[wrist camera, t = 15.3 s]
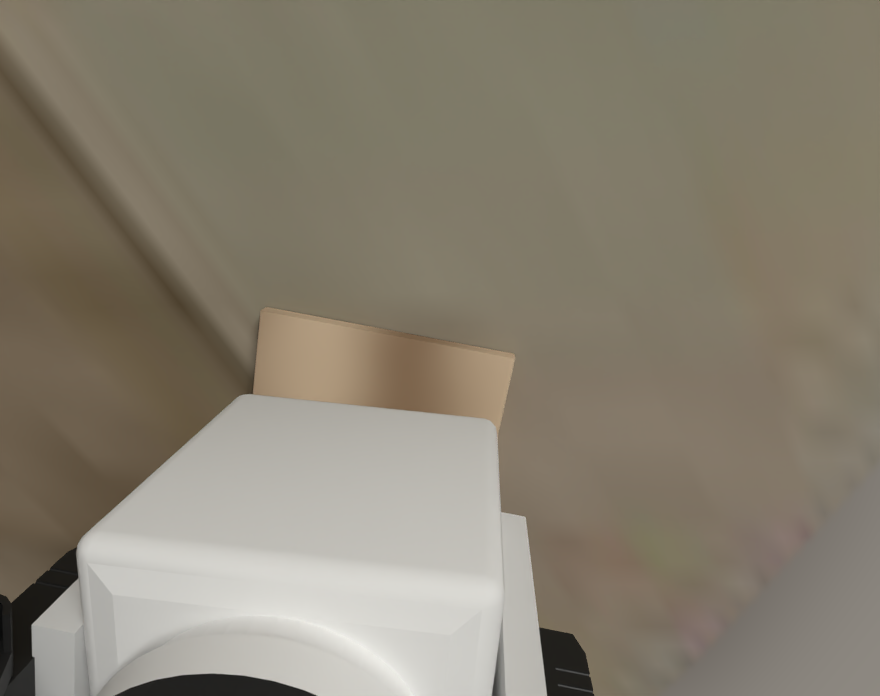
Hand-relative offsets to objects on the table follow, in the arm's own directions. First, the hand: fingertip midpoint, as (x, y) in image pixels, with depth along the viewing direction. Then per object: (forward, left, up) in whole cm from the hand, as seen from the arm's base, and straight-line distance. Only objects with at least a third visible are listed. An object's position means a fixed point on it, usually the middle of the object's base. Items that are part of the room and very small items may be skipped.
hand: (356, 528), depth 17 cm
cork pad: (-1, 0, -6) cm, 6 cm away
